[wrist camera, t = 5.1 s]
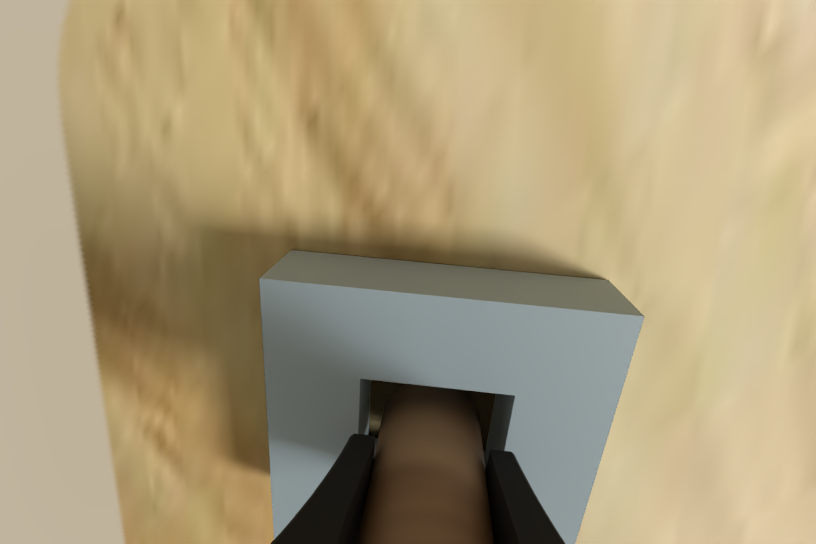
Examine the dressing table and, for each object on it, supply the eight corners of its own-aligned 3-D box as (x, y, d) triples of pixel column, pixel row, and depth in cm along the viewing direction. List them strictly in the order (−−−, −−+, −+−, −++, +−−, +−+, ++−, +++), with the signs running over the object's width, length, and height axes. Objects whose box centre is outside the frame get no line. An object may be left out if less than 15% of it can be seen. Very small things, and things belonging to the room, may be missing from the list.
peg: (479, 458, 14) (510, 746, 8) (387, 458, 15) (341, 734, 8) (478, 379, 13) (513, 636, 7) (378, 380, 14) (318, 627, 7)
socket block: (546, 514, 17) (564, 580, 14) (297, 484, 17) (274, 543, 15) (608, 280, 13) (644, 316, 11) (291, 249, 13) (259, 278, 11)
